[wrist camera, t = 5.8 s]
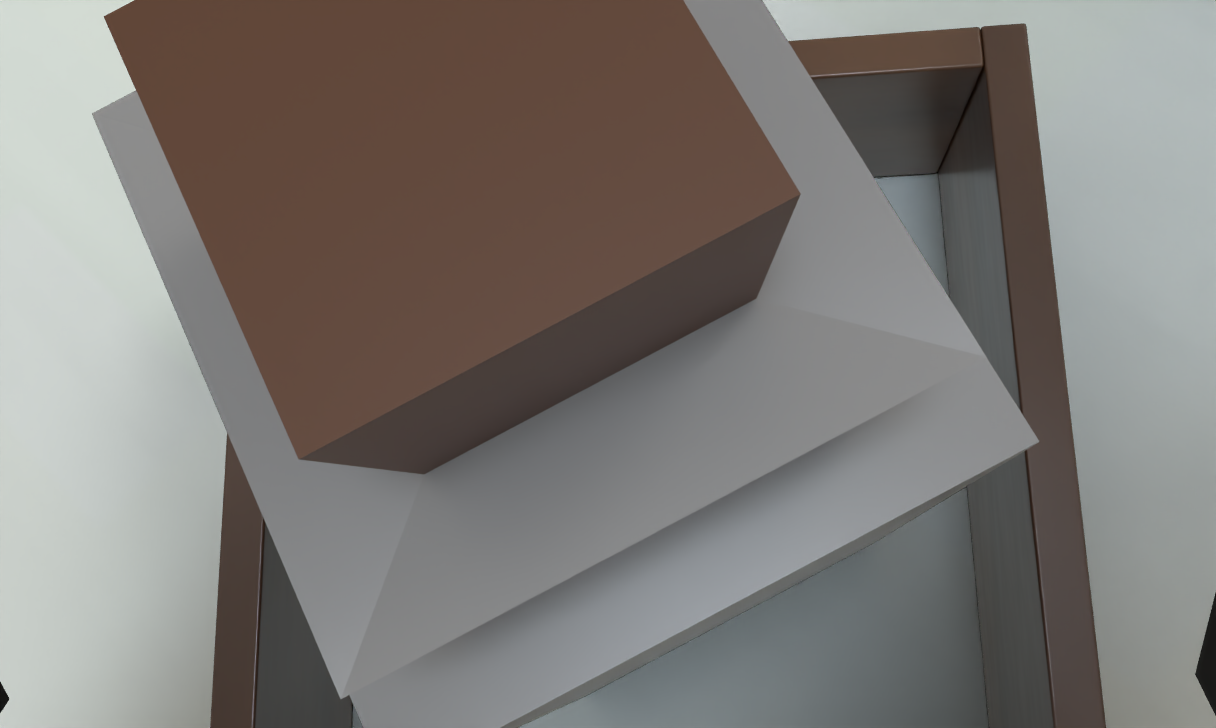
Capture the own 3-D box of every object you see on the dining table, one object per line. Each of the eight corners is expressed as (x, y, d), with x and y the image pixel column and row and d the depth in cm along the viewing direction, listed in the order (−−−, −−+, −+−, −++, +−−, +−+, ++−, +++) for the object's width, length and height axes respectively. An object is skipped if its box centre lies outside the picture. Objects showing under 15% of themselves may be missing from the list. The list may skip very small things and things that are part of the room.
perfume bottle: (717, 271, 25) (665, -526, 8) (872, 543, 23) (1256, 309, 6) (448, 413, 25) (-215, -65, 8) (584, 696, 23) (133, 902, 6)
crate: (972, 137, 25) (1026, 21, 20) (1041, 840, 22) (1127, 901, 17) (335, 178, 27) (246, 79, 22) (310, 840, 23) (199, 896, 19)
